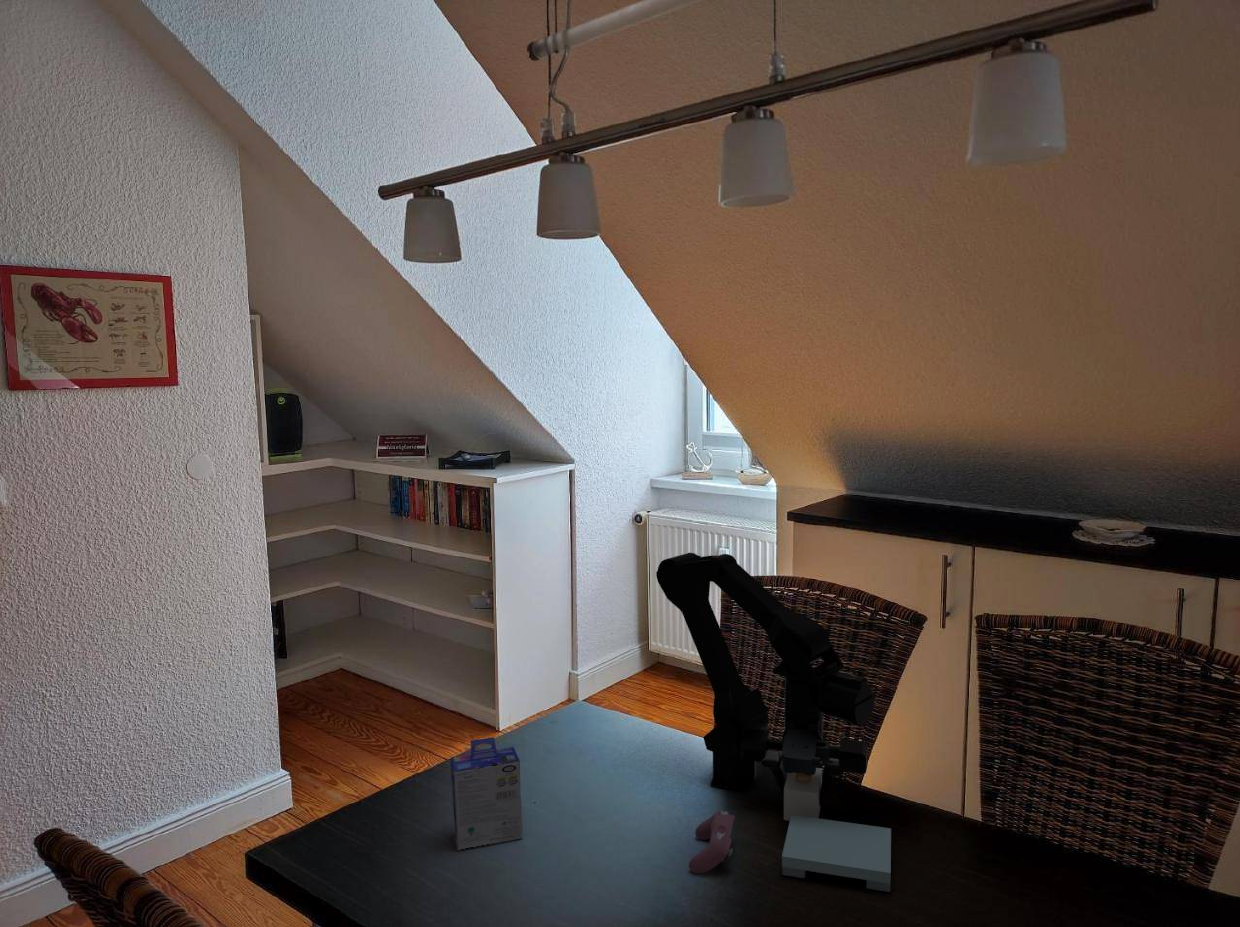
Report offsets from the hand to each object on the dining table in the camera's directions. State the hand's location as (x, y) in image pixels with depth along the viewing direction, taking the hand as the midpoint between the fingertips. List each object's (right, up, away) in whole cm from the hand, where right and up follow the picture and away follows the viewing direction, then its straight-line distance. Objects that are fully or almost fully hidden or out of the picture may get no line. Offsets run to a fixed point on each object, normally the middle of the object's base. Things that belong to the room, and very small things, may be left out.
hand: (803, 802), depth 134 cm
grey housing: (0, -1, 0) cm, 1 cm away
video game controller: (-15, -3, -12) cm, 20 cm away
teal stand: (+2, -3, -14) cm, 14 cm away
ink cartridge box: (-48, -3, -5) cm, 48 cm away
